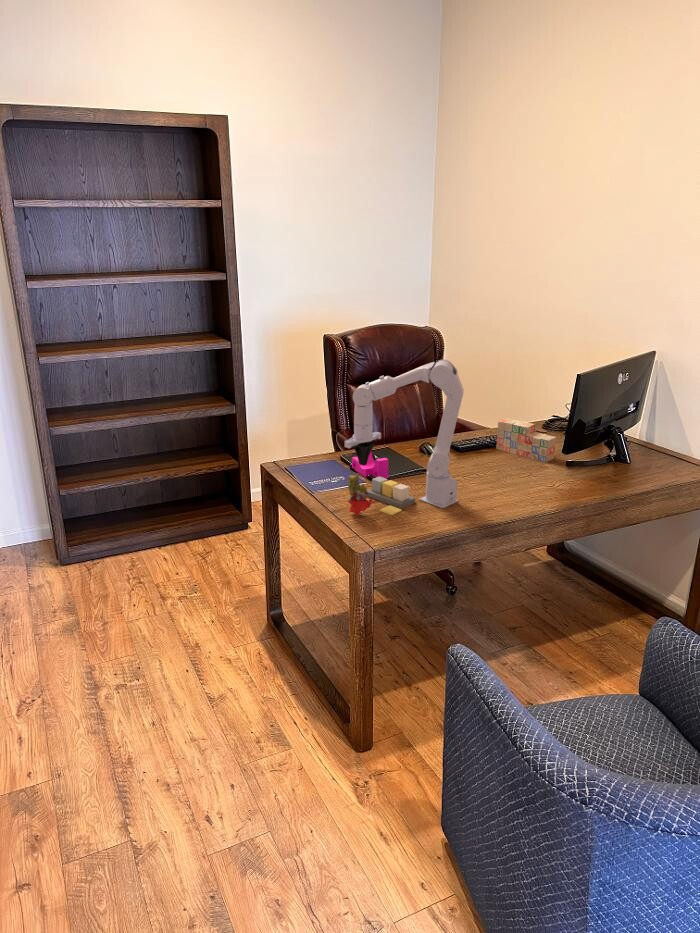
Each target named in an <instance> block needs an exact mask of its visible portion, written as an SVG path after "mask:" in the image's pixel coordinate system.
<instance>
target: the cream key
mask: <svg viewBox="0 0 700 933" xmlns="http://www.w3.org/2000/svg"><path fill="white" fill-rule="evenodd" d="M409 496H410V486H409V485H406V484H404V483H403V484H402V483H398V485H396V486H393V499H396V500H398V501H401V502H402V501H404V500H406V499H409Z"/></svg>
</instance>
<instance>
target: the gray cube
mask: <svg viewBox="0 0 700 933" xmlns="http://www.w3.org/2000/svg"><path fill="white" fill-rule="evenodd" d="M386 481H389V478H388V479H385V478H383V477H380V476H379V477H377V478H374V477H373V478H372V479H371V489H372V491H374V492H377V493H379V494H381V493H382V483H383V482H386Z"/></svg>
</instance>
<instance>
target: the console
mask: <svg viewBox="0 0 700 933" xmlns="http://www.w3.org/2000/svg"><path fill="white" fill-rule="evenodd" d="M366 490H367V492H368V495H367V497H368V498H371V499H372V500H375V501H378V502H382V503H384V504H387V505H388V506H389V505H391V506H393V507H396V508H399V509H401V510H402V509H403V508H406V507H408V506H410V505H412V504H414V503H415V504H416V497H414V496H411V495H409V499H406V500H404V501H402V502H401V501H398V500H396V499H393V497H391V498H390V497H388V496H385V495H382V493H381V494H379V493H377V492H374V491H372V488H369V489H366Z"/></svg>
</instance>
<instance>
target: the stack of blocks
mask: <svg viewBox="0 0 700 933" xmlns="http://www.w3.org/2000/svg"><path fill="white" fill-rule="evenodd" d="M535 426H536V425H535V423H532V422H531V423H530V422H526V421H522V420H517V419H513V418H509V417H506V418H504V419H501V420H498V421H497V433H496V450H499V451H503V452H506V453H508V454H513V455H517V456H520V457H524V458H528V459H532V460H535V461H539V462H542V463H547V462H549V461H552V460H553V459H554V458H555V450H556V442H557V436H553V435H549V434H545V433H541V432H537V431H535Z"/></svg>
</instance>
